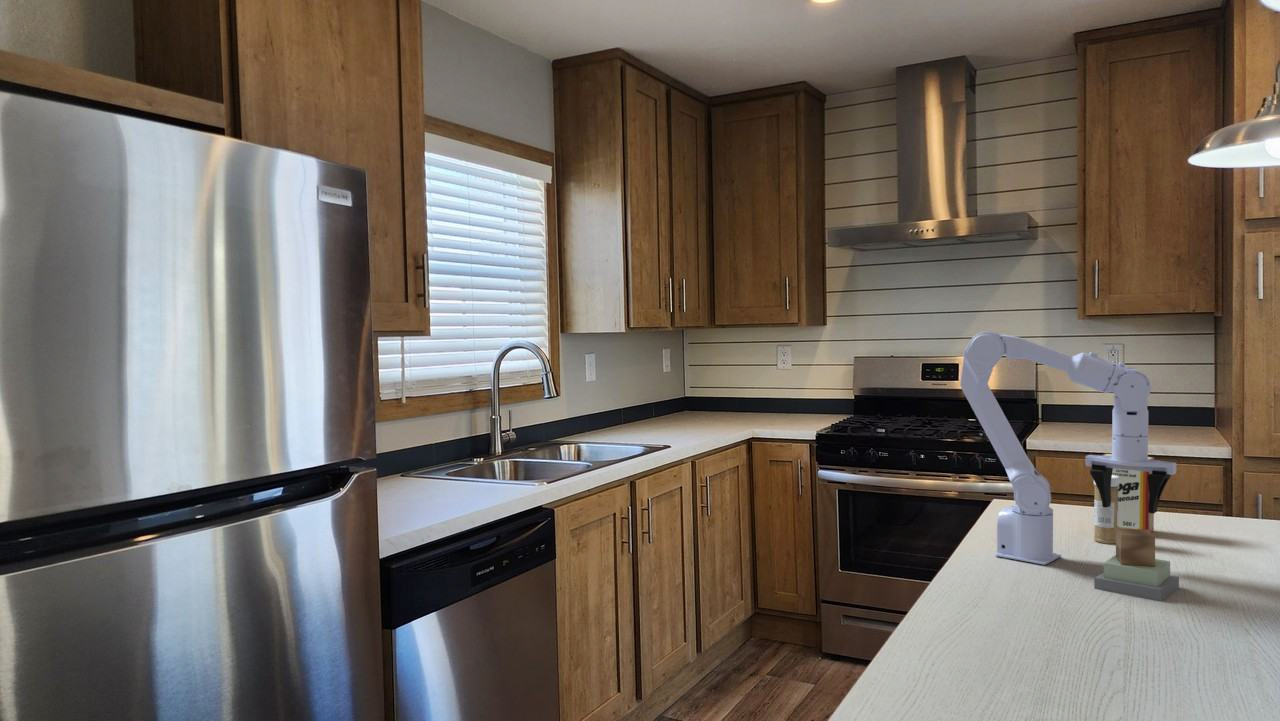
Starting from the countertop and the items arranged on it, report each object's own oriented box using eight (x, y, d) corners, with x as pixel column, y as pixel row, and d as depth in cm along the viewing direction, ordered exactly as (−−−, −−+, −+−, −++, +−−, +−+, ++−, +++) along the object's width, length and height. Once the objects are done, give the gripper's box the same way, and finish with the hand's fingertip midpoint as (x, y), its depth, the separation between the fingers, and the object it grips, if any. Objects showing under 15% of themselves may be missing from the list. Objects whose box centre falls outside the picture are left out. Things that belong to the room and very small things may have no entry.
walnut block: (1121, 564, 148) (1121, 534, 148) (1115, 557, 153) (1115, 528, 152) (1155, 566, 146) (1155, 536, 146) (1148, 559, 151) (1148, 529, 151)
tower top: (1103, 577, 149) (1103, 562, 149) (1118, 567, 155) (1118, 553, 155) (1157, 586, 144) (1157, 571, 144) (1170, 575, 150) (1170, 561, 149)
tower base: (1094, 592, 149) (1094, 577, 149) (1114, 579, 156) (1114, 565, 156) (1160, 605, 142) (1160, 589, 142) (1178, 591, 149) (1179, 576, 149)
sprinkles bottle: (1123, 542, 179) (1123, 475, 178) (1111, 545, 177) (1111, 478, 176) (1100, 537, 183) (1101, 472, 182) (1088, 540, 180) (1089, 475, 180)
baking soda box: (1153, 530, 188) (1154, 455, 187) (1148, 537, 183) (1149, 459, 182) (1103, 525, 194) (1104, 452, 193) (1097, 531, 189) (1098, 456, 188)
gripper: (1181, 436, 159) (1180, 511, 159) (1095, 429, 169) (1094, 500, 170) (1170, 440, 154) (1169, 518, 154) (1081, 433, 164) (1081, 506, 165)
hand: (1129, 509), depth 162 cm, fingers open, 7 cm apart
